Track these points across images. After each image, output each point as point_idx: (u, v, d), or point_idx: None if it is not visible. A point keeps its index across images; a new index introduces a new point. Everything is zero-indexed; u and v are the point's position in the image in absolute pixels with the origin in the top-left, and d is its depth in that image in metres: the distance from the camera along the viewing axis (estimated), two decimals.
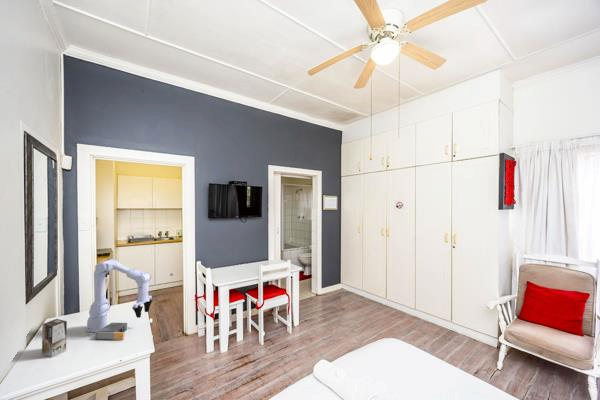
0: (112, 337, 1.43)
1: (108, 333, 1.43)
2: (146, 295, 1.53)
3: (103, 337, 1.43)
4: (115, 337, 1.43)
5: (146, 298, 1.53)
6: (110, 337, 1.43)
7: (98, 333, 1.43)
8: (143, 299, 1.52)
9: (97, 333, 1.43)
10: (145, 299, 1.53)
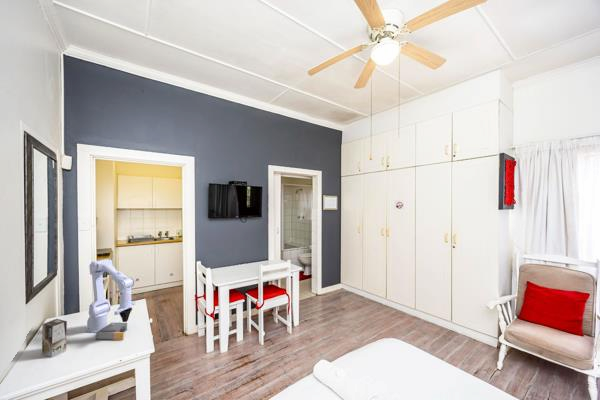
0: (112, 337, 1.43)
1: (108, 333, 1.43)
2: (129, 301, 1.46)
3: (103, 337, 1.43)
4: (115, 337, 1.43)
5: (129, 304, 1.46)
6: (110, 337, 1.43)
7: (98, 333, 1.43)
8: (125, 305, 1.44)
9: (97, 333, 1.43)
10: (127, 305, 1.45)
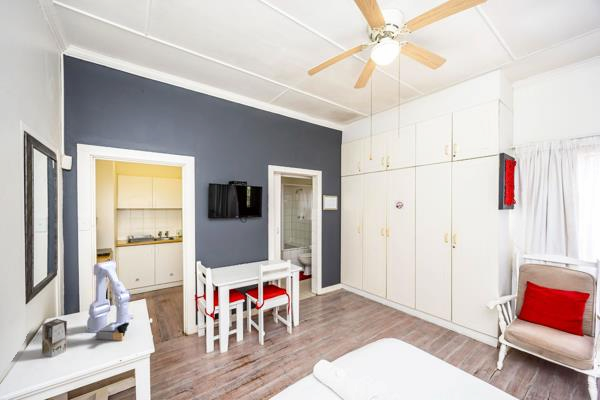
0: (111, 337, 1.42)
1: (107, 333, 1.43)
2: (125, 316, 1.43)
3: (103, 337, 1.43)
4: (114, 338, 1.42)
5: (125, 319, 1.43)
6: (109, 337, 1.42)
7: (98, 333, 1.43)
8: (121, 320, 1.42)
9: (97, 333, 1.43)
10: (124, 320, 1.42)
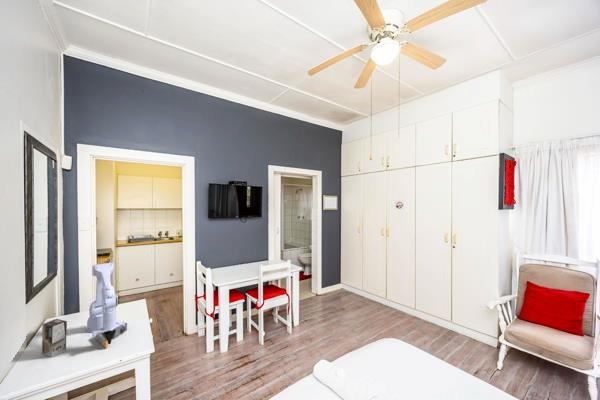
0: (101, 342, 1.38)
1: (100, 337, 1.39)
2: (109, 323, 1.35)
3: (98, 339, 1.41)
4: (103, 343, 1.37)
5: (109, 326, 1.35)
6: (101, 341, 1.38)
7: None
8: (105, 327, 1.34)
9: None
10: (108, 327, 1.34)
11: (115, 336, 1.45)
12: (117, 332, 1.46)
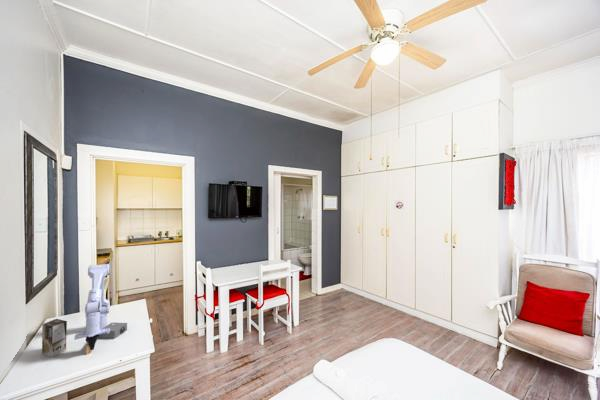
0: None
1: None
2: (89, 328, 1.29)
3: None
4: None
5: (89, 332, 1.29)
6: None
7: None
8: (86, 332, 1.29)
9: None
10: (88, 333, 1.29)
11: (115, 336, 1.45)
12: (117, 332, 1.46)
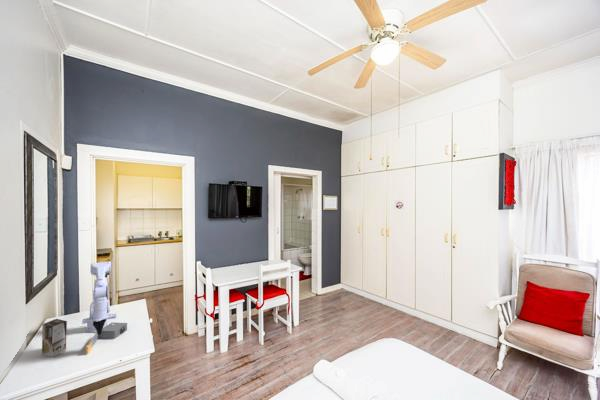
0: None
1: (92, 339, 1.37)
2: (97, 313, 1.30)
3: None
4: None
5: (97, 316, 1.30)
6: None
7: None
8: (94, 316, 1.30)
9: None
10: (95, 317, 1.30)
11: (115, 336, 1.45)
12: (117, 332, 1.46)
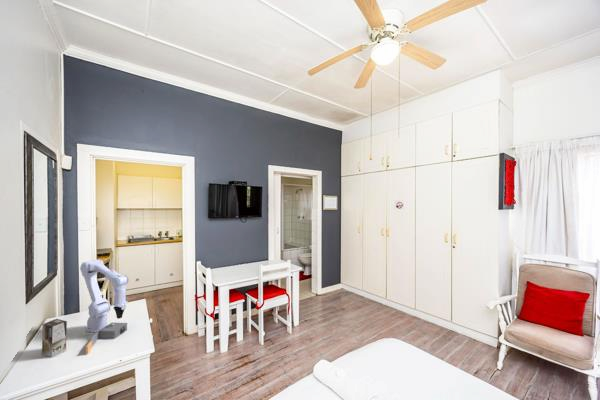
0: None
1: (92, 339, 1.37)
2: (125, 297, 1.52)
3: None
4: None
5: None
6: None
7: None
8: (124, 301, 1.51)
9: None
10: (125, 301, 1.52)
11: (115, 336, 1.45)
12: (117, 332, 1.46)
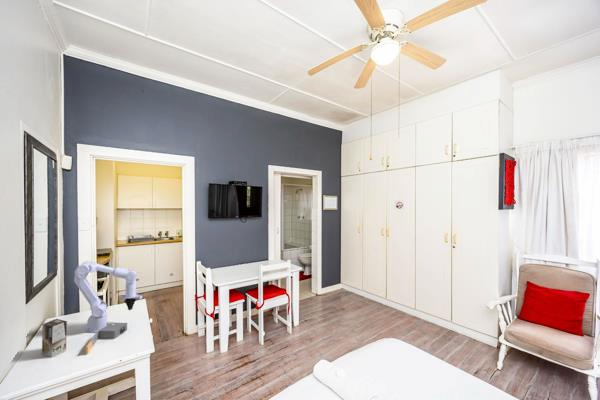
0: None
1: (92, 339, 1.37)
2: None
3: None
4: None
5: None
6: None
7: None
8: (135, 292, 1.64)
9: None
10: None
11: (115, 336, 1.45)
12: (117, 332, 1.46)
